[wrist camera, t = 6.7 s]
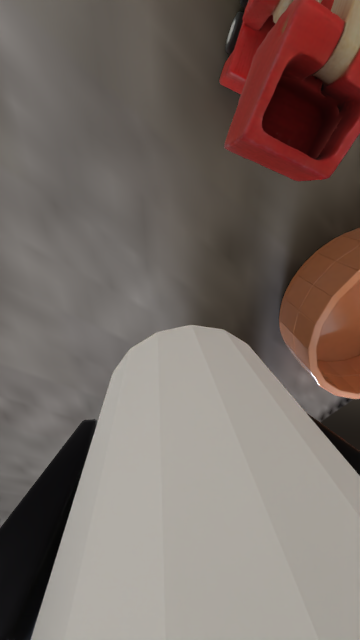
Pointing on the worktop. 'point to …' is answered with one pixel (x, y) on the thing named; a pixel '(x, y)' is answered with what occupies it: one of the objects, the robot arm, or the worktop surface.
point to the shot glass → (206, 508)
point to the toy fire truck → (294, 84)
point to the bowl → (327, 315)
